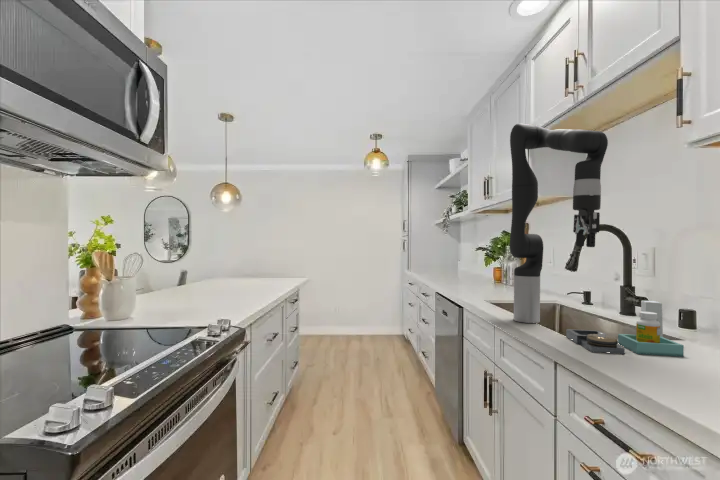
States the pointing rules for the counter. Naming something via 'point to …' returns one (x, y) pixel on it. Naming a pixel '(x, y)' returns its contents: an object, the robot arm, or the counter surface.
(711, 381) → the counter surface
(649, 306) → the skincare box
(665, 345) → the tray
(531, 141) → the robot arm
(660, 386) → the counter surface
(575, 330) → the bracket
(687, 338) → the counter surface
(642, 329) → the supplement bottle
